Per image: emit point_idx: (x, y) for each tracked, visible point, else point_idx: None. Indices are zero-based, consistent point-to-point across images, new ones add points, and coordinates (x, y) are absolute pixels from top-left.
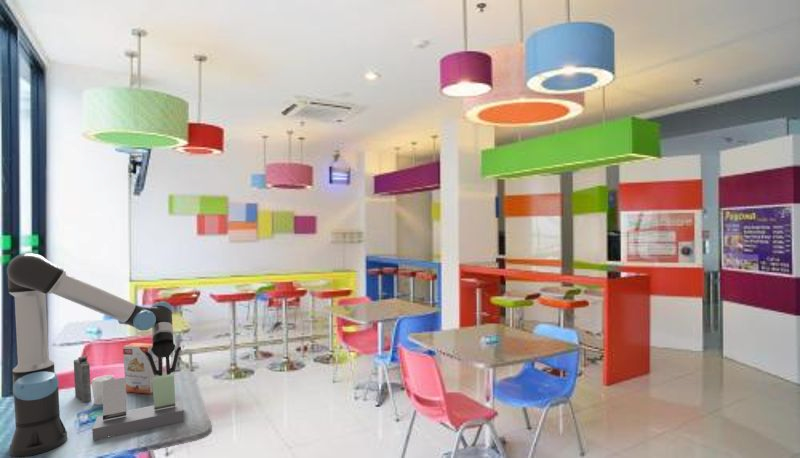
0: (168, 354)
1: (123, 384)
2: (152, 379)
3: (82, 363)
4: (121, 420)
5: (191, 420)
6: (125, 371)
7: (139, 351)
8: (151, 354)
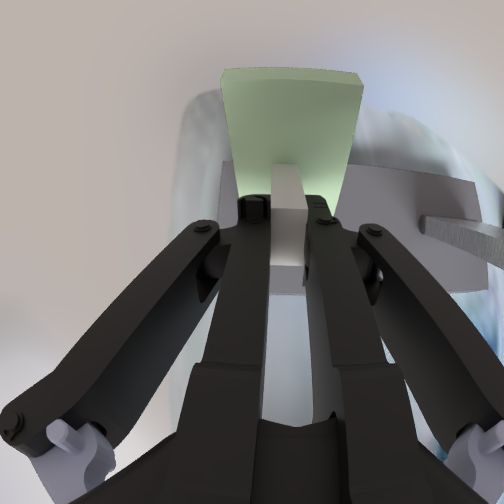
0: (203, 364)
1: (501, 238)
2: (356, 73)
3: None
4: (422, 195)
5: (207, 172)
6: None
7: None
8: (479, 443)
